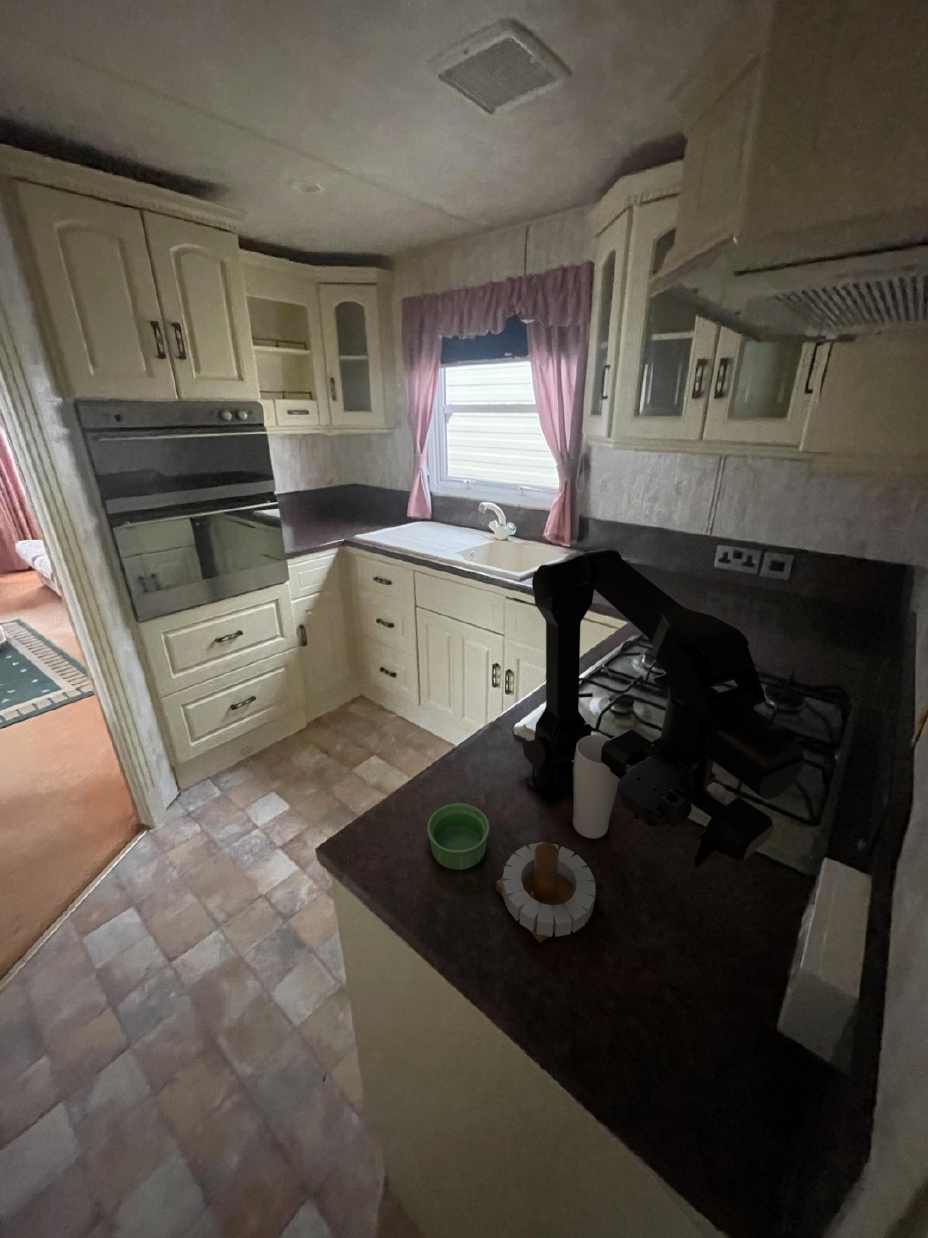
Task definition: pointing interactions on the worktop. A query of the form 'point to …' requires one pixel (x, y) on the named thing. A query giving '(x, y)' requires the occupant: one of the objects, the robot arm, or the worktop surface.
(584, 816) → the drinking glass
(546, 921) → the segmented block ring
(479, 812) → the ramekin
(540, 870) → the wooden peg stand
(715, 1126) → the worktop surface
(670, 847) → the worktop surface
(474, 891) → the worktop surface
